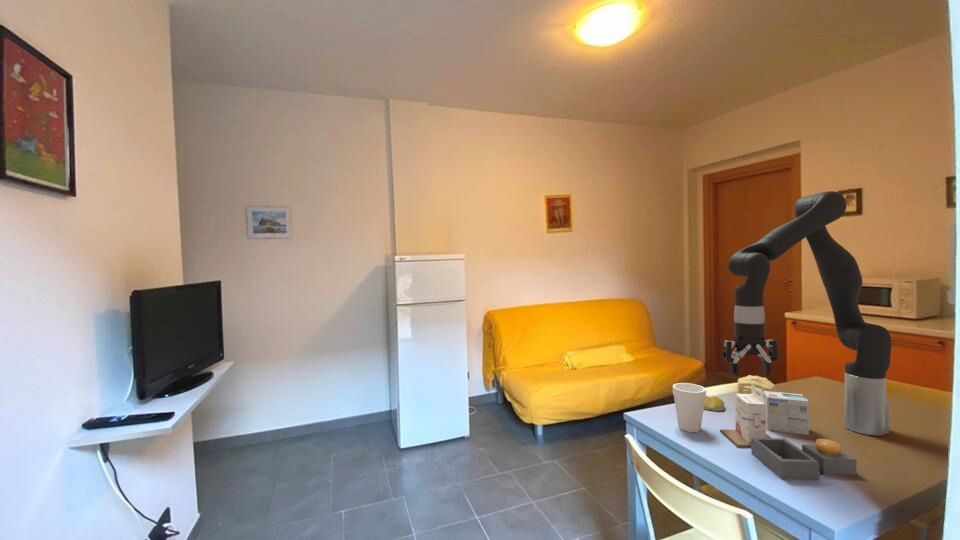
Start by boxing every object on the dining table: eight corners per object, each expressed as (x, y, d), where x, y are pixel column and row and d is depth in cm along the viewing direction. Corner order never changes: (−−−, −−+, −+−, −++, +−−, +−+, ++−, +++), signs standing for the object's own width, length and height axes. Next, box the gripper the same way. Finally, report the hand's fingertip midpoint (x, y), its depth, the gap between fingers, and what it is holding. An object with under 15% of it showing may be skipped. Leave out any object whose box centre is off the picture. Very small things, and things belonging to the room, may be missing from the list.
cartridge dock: (825, 455, 110) (825, 438, 110) (864, 480, 98) (865, 462, 97) (751, 453, 112) (751, 437, 112) (781, 479, 99) (781, 461, 99)
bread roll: (696, 401, 152) (696, 391, 151) (724, 406, 147) (724, 395, 147) (695, 409, 145) (695, 398, 144) (724, 413, 140) (724, 402, 140)
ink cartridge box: (734, 430, 125) (734, 383, 124) (752, 431, 124) (752, 383, 123) (747, 443, 116) (747, 392, 116) (766, 444, 116) (766, 393, 115)
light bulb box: (803, 427, 128) (803, 393, 127) (809, 436, 121) (810, 400, 121) (762, 422, 132) (762, 389, 132) (767, 430, 126) (767, 396, 126)
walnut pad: (760, 432, 125) (760, 429, 125) (782, 448, 115) (782, 445, 115) (720, 432, 126) (720, 429, 126) (737, 447, 116) (737, 444, 116)
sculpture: (734, 405, 147) (734, 376, 146) (743, 397, 155) (743, 369, 154) (772, 414, 138) (772, 383, 138) (780, 404, 146) (780, 375, 146)
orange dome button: (830, 459, 106) (830, 438, 106) (845, 469, 102) (845, 447, 101) (811, 459, 107) (811, 438, 107) (825, 469, 102) (825, 447, 102)
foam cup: (667, 422, 134) (667, 383, 133) (694, 420, 134) (693, 382, 134) (683, 435, 124) (683, 393, 124) (712, 433, 125) (712, 391, 124)
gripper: (766, 317, 122) (767, 371, 122) (717, 319, 123) (718, 371, 124) (783, 322, 114) (784, 378, 115) (730, 323, 116) (731, 379, 116)
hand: (750, 375), depth 119 cm, fingers open, 8 cm apart
